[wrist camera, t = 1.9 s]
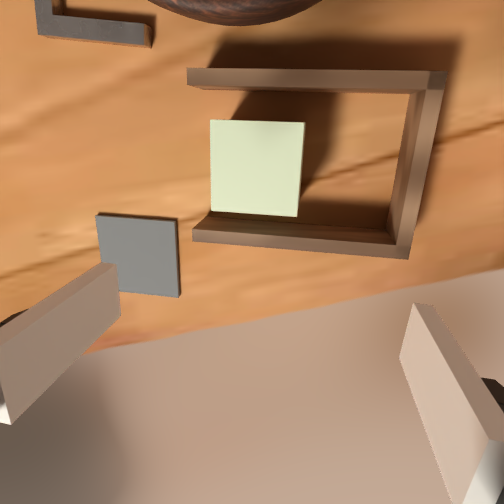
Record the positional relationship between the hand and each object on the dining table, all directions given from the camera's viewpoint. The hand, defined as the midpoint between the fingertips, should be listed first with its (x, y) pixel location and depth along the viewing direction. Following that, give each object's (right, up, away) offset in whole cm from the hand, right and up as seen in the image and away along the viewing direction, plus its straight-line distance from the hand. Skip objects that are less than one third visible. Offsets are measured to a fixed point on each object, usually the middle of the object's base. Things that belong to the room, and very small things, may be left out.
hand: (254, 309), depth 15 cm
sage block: (+1, +11, +18) cm, 21 cm away
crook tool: (-14, +24, +16) cm, 32 cm away
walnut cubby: (+4, +11, +17) cm, 21 cm away
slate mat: (-13, +2, +24) cm, 27 cm away
